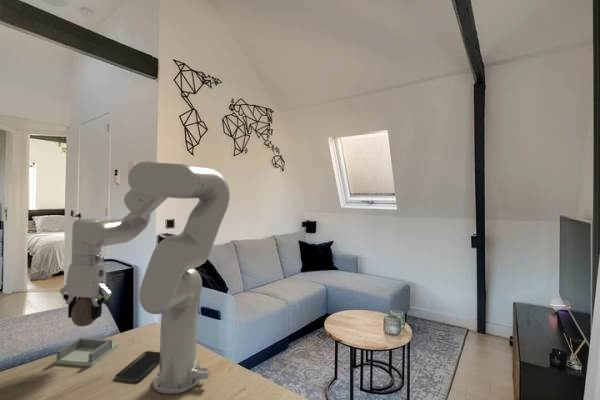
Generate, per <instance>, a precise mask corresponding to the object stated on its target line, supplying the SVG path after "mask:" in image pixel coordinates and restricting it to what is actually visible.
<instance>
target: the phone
mask: <svg viewBox="0 0 600 400" xmlns="http://www.w3.org/2000/svg"><path fill="white" fill-rule="evenodd" d="M159 364H160V351H151V350H146V351H144V352H142V353H141V354H140V355H139V356H137V357H136V358H135V359H134V360H133V361H131V362H130V363H129V364H128V365H127V366H125V367H124V368H122V369H121V370H120V371H119V372H117V374H115V375H114V381H116V382H117V381H118V382H124V383H130V384H131V383H133V384H139V383H140V382H143V380H144V379H145V378H147V377H148V376H149V375H150V374H151V372H153V371H154V370H155V369H156V368H158V367H159Z"/></svg>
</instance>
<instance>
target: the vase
mask: <svg viewBox="0 0 600 400" xmlns="http://www.w3.org/2000/svg"><path fill="white" fill-rule="evenodd" d="M93 306H94V304H93V302H92V299H91V298H83V297H79V298H78V299H77V301H76V304H75V305H74V306H73V308H72V311H71V322H72V323H73V324H74V325H76V326H77V327H87V326H90V325H92V324H93V323H94V322H95V321H96V320H97V319H95V320H92V307H93Z"/></svg>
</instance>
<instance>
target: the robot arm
mask: <svg viewBox="0 0 600 400" xmlns="http://www.w3.org/2000/svg"><path fill="white" fill-rule="evenodd" d="M127 183H128V186H129V188H130V190H128V191H127V192H126V193H125V195H124V197H123V203H124V205H125V207H126V208H127V209H128V210H129V211H130V212H129V213H127V214H126V215H125V216H124V217H123V218H119V219H107V220H101V219H97V218H82V219H81V218H79V219H76V220H74V221H73V223H72V231H71V232H72V233H71V236H72V237H71V240H72V241H71V263H70V264H69V267H68V271H67V275H66V283H65V285H64V286H63V287H62V288H61V289H59V293H60V294H61V296H62V297H63V300H65V304H66V305H68V307H67V311H68V312H67V318H68V319H69V318H71V311H72V308H73V306H74V305H75V304H76V302H77V301H78V300H79V298H80V297H83V298H91V299H92V302H93V304H94V306H93V307H92V320H95V319H96V320H97V319H98V318H101V317H102V311H103V310H102V307H103V304H104V303H106V301H107V300H108V299H109V298H110V296H111V295H112V293H113V292H112V291H111V290H110V289H108V287H107V275H106V274H107V273H106V268H105V264H104V263H103V262H104V260H105V257H104V256H102V248H103V247H108V246H113V245H118V244H124V243H128V242H130V241H132V240H133V239H135V238H136V237H138V236H139V235H140V234H142V232H144V231H145V229H147V227H148V225H149V223H150V220H151V216H152V215H151V214H152V213H153V212H154V211H155V210H156V209H157V208H158V207H159V206H161V205H162V204H163V203H164V202H165V201H167V199H168V198H170V199H198V202H197V204H196V205H195V206H194V208H193V209H192V210H191V212H190V213H189V215H188V218H187V221H186V224H185V226H184V228H183V230H182V232H181V233H179V234H175V235H172V236H168V237H165V238H163V239H162V240H161V241H160V242H159V243H158V244H157V245H156V246H155V248H154V250H153V251H152V253H151V256H150V259H149V262H148V264H147V267H146V270H145V272H144V275H143V277H142V278H143V279H142V281H141V285H140V288H139V295H138V296H139V303H140V306H141V308H142V309H144V311H145V312H146V313H148V314H151V315H160V314H161V318H160V334H159V335H160V336H159V338H160V339H159V341H160V343H159V352H160V364H159V365H158V367H159V369H158V372H157V373H156V374H155V375H154V377H153V379H152V388H153V389H154V390H155V391H156V392H158V393H161V394H165V395H173V394H174V395H175V394H180V393H184V392H186V391H189V390H191V389H192V388H195V387H196V386H197V385H198V384H199V383H200V381H201V380H209V379H210V375H211V373H210V371H209V367H208V366H201V365H200V360H198V359H197V346H198V345H197V344H198V342H197V341H198V340H197V337H198V321H199V320H198V314H199V305H200V304H199V303H200V301H201V300H200V299H201V294H202V289H203V280H202V276H201V274H200V273H199V271H198V270H197V269H196V268H198V267H200V266H202V265H203V264H205V263H206V262H207V261H208V258H209V257H210V254H211V251H212V248H213V245H214V243H215V241H216V238H217V235H218V233H219V231H220V226H221V224H222V222H223V220H224V216H225V215H226V212H227V210H228V207H229V203H230V198H231V197H230V193H231V192H230V188H229V185H228V183H227V181H226V178H224V176H223V175H222V174H221V173H220V172H218V171H217V170H215V169H212V168H210V167H206V166H205V167H204V166H197V165H192V164H184V163H168V162H155V161H149V160H148V161H147V160H146V161H140V162H138V163H136V164H134V165H133V166H132V167H131V168H130V170H129V172H128V175H127ZM102 295H103V296H102ZM96 320H95V321H96Z"/></svg>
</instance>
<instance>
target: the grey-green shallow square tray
mask: <svg viewBox="0 0 600 400" xmlns="http://www.w3.org/2000/svg"><path fill="white" fill-rule="evenodd" d="M118 347H119V343H118V342H113V340H112V339H105V337H96V338H91V337H78V338H77V339H75V340H73V341H72V342H70V343H68V344H67V345H65V346H63V347H62V348H60V349H59V350H57V351H56V364H57V365H68V366H79V367H90V368H91V367H93V366H95V365H96V364H97V363H99V362H100V361H101V360H102V359H104V358H105V357H107V356H108V355H109V354H110V353H112V352H114V350H116V349H117V348H118Z"/></svg>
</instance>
